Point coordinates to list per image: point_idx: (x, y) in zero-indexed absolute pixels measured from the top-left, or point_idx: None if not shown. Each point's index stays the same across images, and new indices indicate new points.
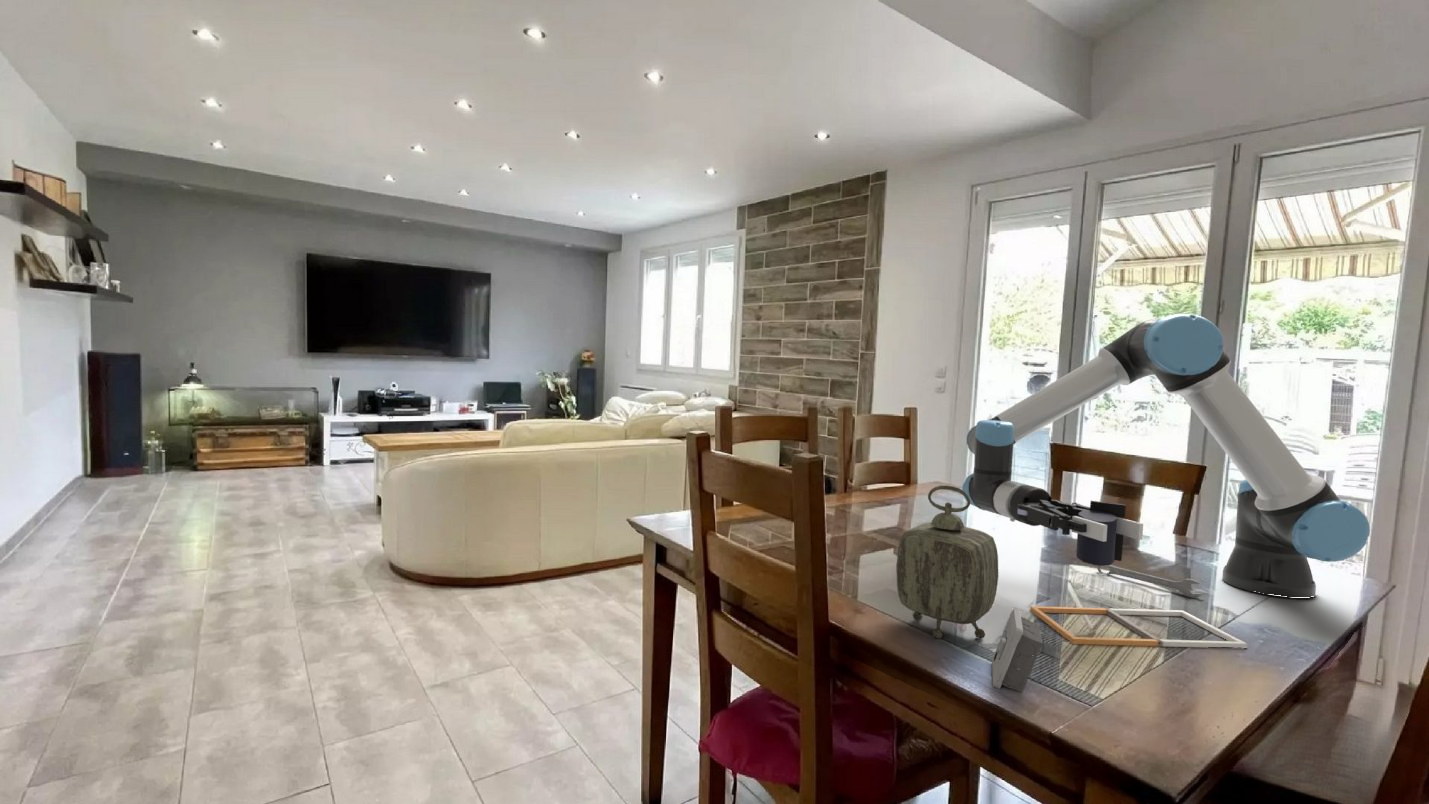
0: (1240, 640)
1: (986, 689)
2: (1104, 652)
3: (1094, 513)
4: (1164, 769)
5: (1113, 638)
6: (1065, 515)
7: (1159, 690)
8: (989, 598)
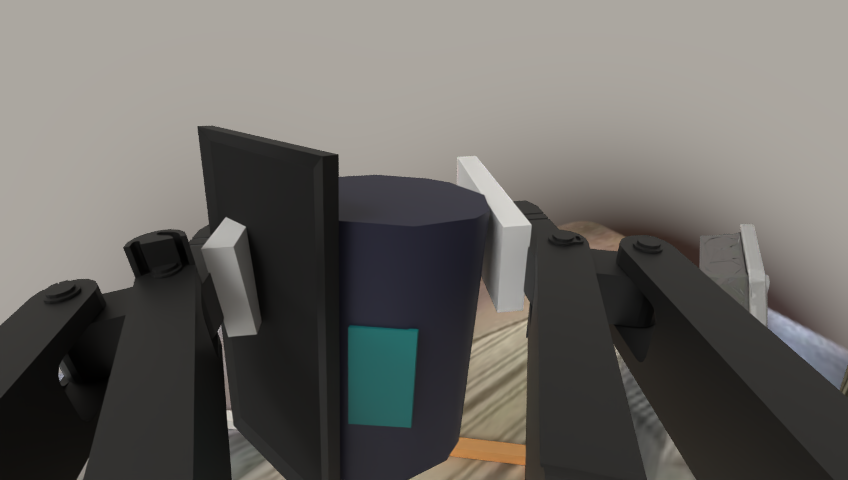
0: None
1: None
2: (487, 411)
3: (378, 203)
4: (581, 229)
5: None
6: (573, 236)
7: (484, 307)
8: (846, 370)
